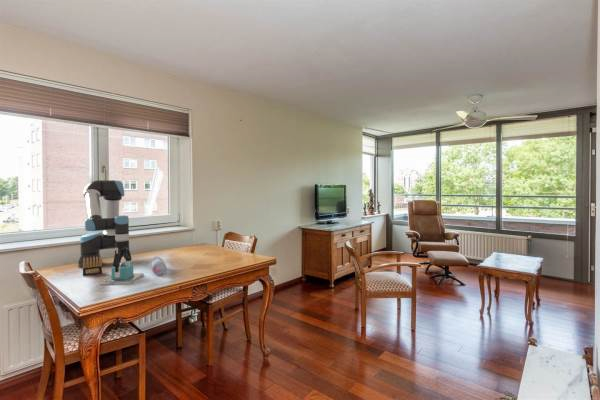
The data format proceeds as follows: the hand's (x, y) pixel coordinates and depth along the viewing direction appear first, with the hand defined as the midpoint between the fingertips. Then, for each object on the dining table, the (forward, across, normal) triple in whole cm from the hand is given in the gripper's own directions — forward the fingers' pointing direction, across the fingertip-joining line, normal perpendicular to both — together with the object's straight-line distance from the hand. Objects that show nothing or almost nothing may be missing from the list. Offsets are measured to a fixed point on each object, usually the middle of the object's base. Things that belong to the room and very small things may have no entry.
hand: (122, 274), depth 193 cm
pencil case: (+4, +16, -16) cm, 23 cm away
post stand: (+4, 0, 0) cm, 4 cm away
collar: (+2, 0, 0) cm, 2 cm away
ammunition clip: (+4, +14, +25) cm, 29 cm away
